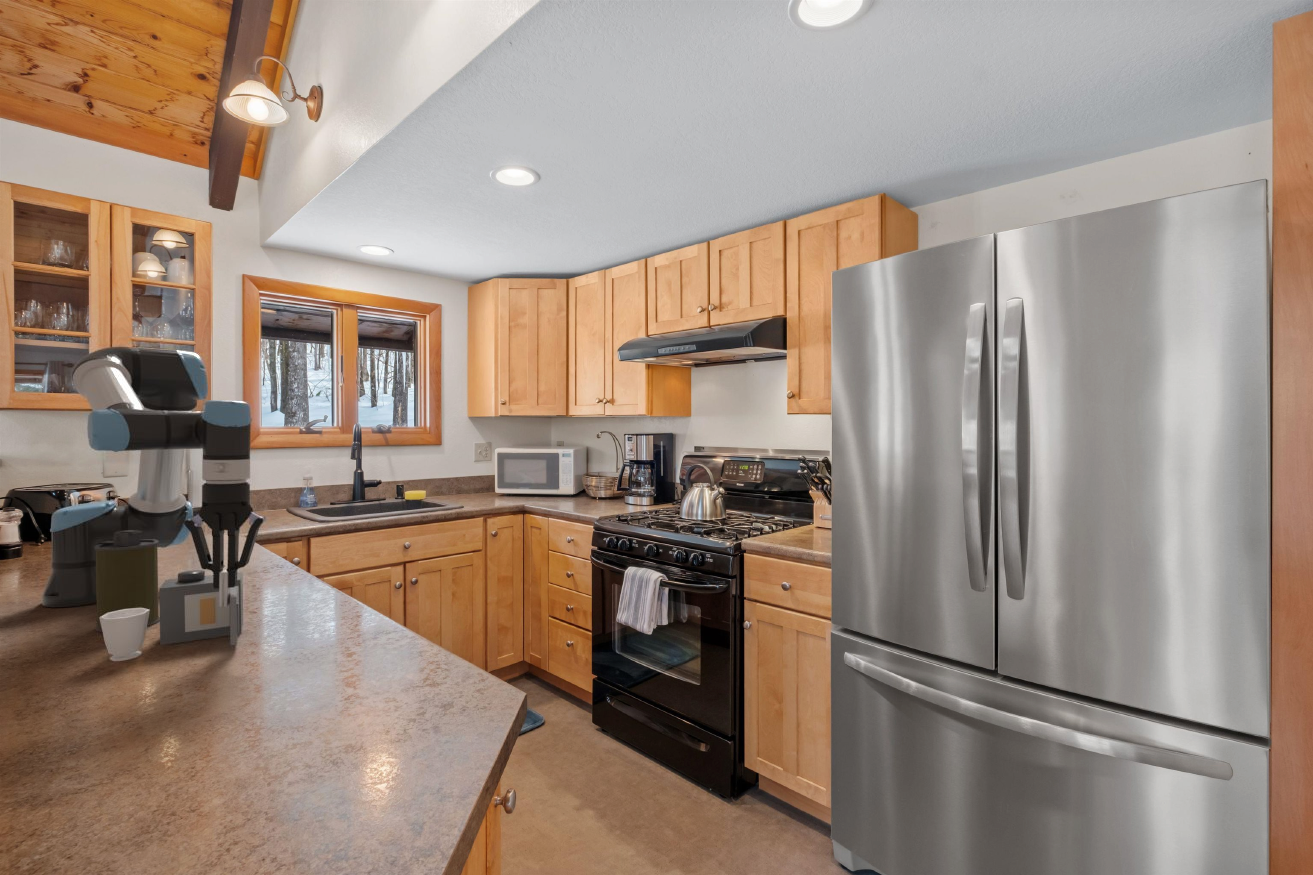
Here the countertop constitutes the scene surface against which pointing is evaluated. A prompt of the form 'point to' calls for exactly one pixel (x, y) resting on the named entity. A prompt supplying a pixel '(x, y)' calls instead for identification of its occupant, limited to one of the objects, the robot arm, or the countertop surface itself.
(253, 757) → the countertop surface
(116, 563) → the canister
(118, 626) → the cup
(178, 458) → the robot arm
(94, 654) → the countertop surface
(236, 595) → the door
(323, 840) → the countertop surface
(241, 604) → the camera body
